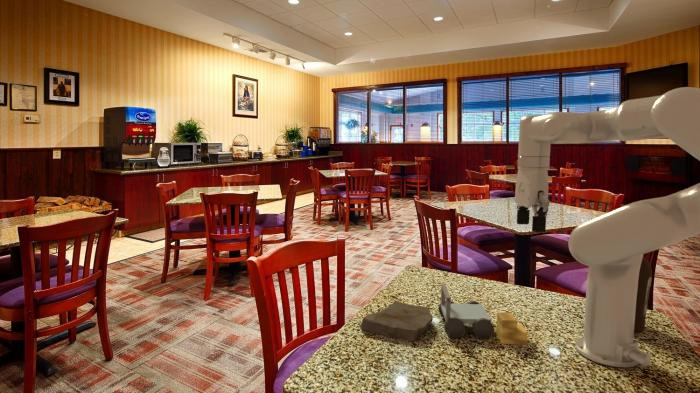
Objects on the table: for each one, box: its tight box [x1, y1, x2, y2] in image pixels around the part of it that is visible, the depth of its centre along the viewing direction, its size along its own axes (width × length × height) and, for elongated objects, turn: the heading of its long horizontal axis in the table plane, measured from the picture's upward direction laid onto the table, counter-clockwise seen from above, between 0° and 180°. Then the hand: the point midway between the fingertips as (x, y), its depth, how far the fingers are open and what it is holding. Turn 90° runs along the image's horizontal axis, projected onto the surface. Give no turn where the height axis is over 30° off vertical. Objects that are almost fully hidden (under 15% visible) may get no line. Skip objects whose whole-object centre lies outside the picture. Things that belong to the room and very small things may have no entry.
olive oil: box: [634, 255, 653, 334], centre depth 105 cm, size 11×11×25 cm
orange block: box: [496, 312, 528, 345], centre depth 99 cm, size 6×4×6 cm
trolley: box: [438, 283, 495, 340], centre depth 106 cm, size 12×13×10 cm
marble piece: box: [360, 301, 434, 342], centre depth 108 cm, size 17×15×4 cm
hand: (530, 227), depth 107 cm, fingers open, 9 cm apart
